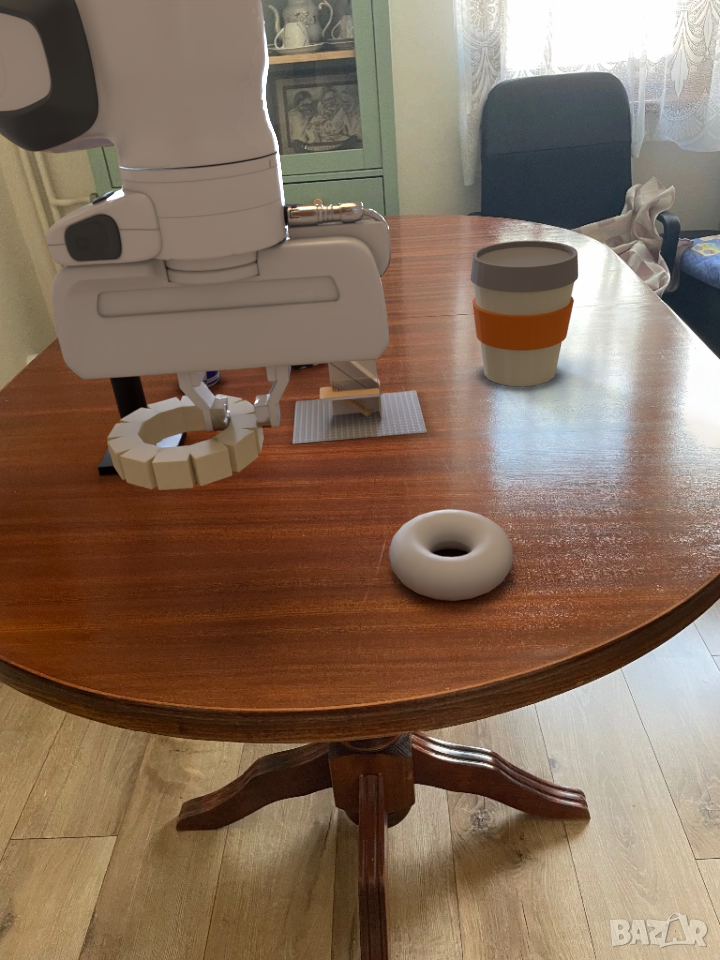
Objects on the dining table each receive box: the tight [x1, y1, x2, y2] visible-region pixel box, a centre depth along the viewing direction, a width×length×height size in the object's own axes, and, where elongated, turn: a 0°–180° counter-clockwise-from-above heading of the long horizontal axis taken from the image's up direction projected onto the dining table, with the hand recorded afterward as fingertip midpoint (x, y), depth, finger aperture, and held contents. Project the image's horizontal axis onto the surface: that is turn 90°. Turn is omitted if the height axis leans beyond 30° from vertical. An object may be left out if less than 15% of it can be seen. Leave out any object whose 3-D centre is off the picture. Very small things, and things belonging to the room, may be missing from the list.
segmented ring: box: [106, 393, 265, 491], centre depth 49 cm, size 10×10×2 cm
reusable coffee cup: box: [470, 240, 579, 387], centre depth 89 cm, size 13×13×15 cm
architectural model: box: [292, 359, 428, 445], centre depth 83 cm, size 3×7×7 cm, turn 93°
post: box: [97, 376, 187, 476], centre depth 77 cm, size 8×8×15 cm
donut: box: [388, 509, 514, 602], centre depth 59 cm, size 10×4×10 cm
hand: (243, 426), depth 49 cm, fingers closed on segmented ring, 2 cm apart
